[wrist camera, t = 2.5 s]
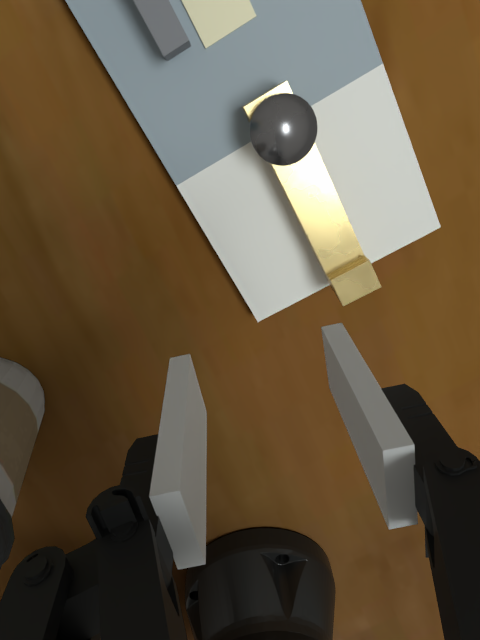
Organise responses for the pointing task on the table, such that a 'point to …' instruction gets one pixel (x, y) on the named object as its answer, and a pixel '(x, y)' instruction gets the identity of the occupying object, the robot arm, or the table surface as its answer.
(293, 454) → the table surface
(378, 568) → the table surface
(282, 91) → the latch bar
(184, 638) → the robot arm
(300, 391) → the table surface
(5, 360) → the coffee cup
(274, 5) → the door fixture
